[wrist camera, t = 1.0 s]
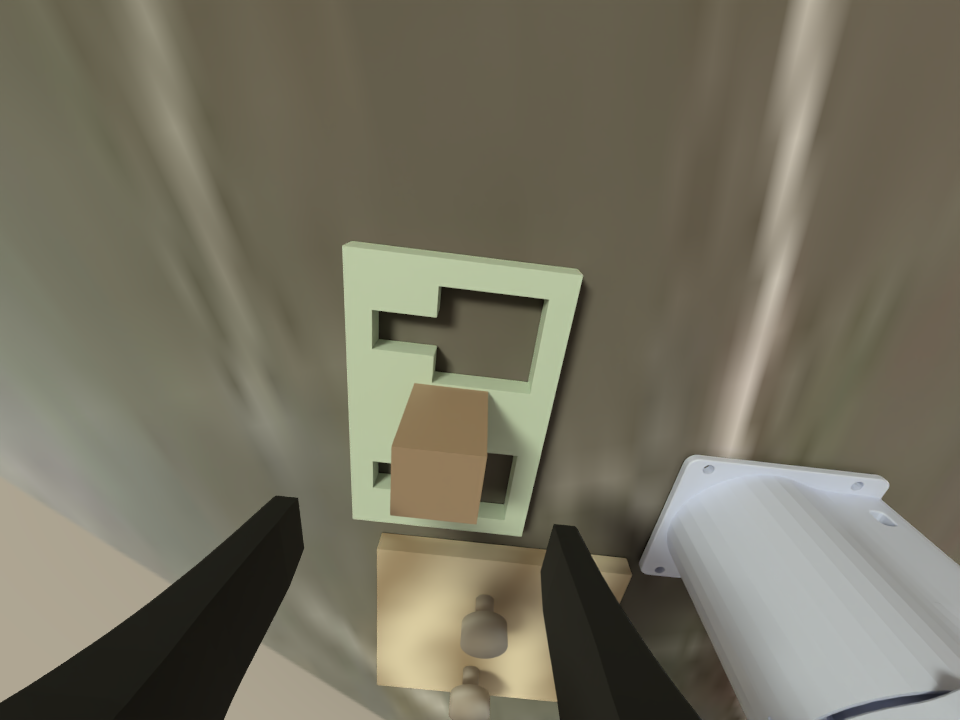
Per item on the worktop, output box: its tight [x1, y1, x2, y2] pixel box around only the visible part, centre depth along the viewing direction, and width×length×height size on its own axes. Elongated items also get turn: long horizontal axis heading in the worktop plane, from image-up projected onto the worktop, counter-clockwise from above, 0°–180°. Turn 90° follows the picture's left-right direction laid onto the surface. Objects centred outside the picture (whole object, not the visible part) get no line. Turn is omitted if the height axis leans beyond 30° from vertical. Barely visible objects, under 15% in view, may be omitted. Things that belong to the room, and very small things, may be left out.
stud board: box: [377, 533, 632, 720], centre depth 23 cm, size 13×13×3 cm
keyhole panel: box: [342, 241, 583, 537], centre depth 15 cm, size 8×13×5 cm, turn 173°
